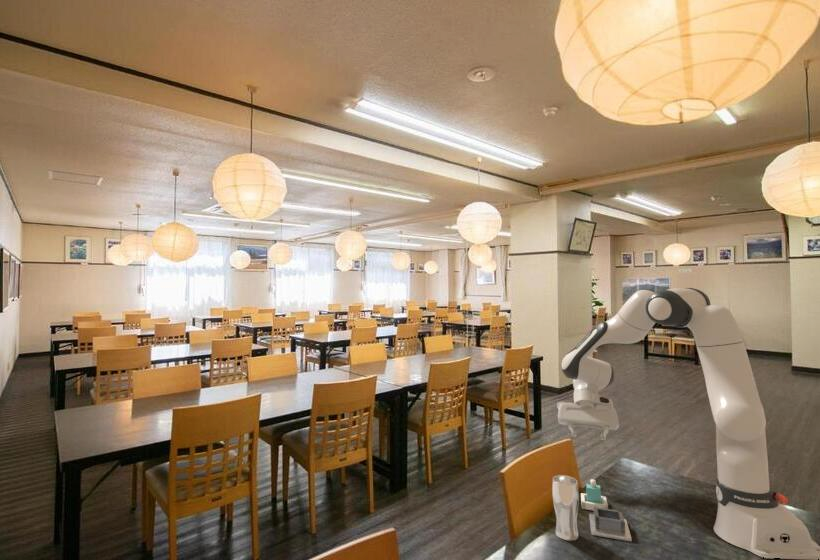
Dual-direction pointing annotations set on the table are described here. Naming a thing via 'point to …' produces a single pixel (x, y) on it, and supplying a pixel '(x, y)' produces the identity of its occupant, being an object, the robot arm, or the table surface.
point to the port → (609, 524)
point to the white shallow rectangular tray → (591, 505)
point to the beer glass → (566, 506)
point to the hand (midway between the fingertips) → (588, 437)
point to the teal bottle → (593, 492)
